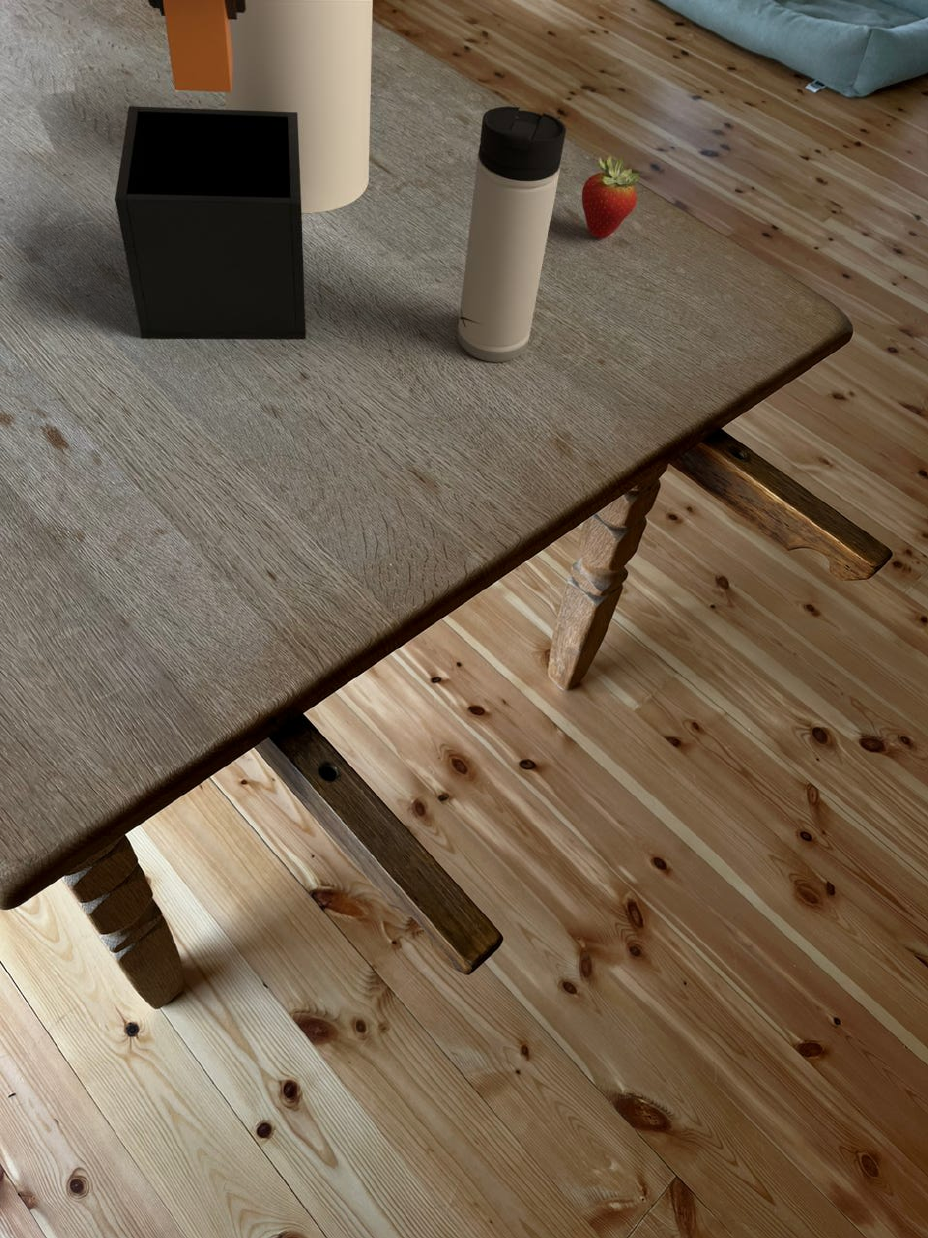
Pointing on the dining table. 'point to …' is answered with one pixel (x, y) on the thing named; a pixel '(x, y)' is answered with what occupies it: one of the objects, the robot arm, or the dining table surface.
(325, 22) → the canister
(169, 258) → the bin
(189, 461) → the dining table surface
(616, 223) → the fruit
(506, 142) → the travel mug
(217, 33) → the block
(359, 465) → the dining table surface
